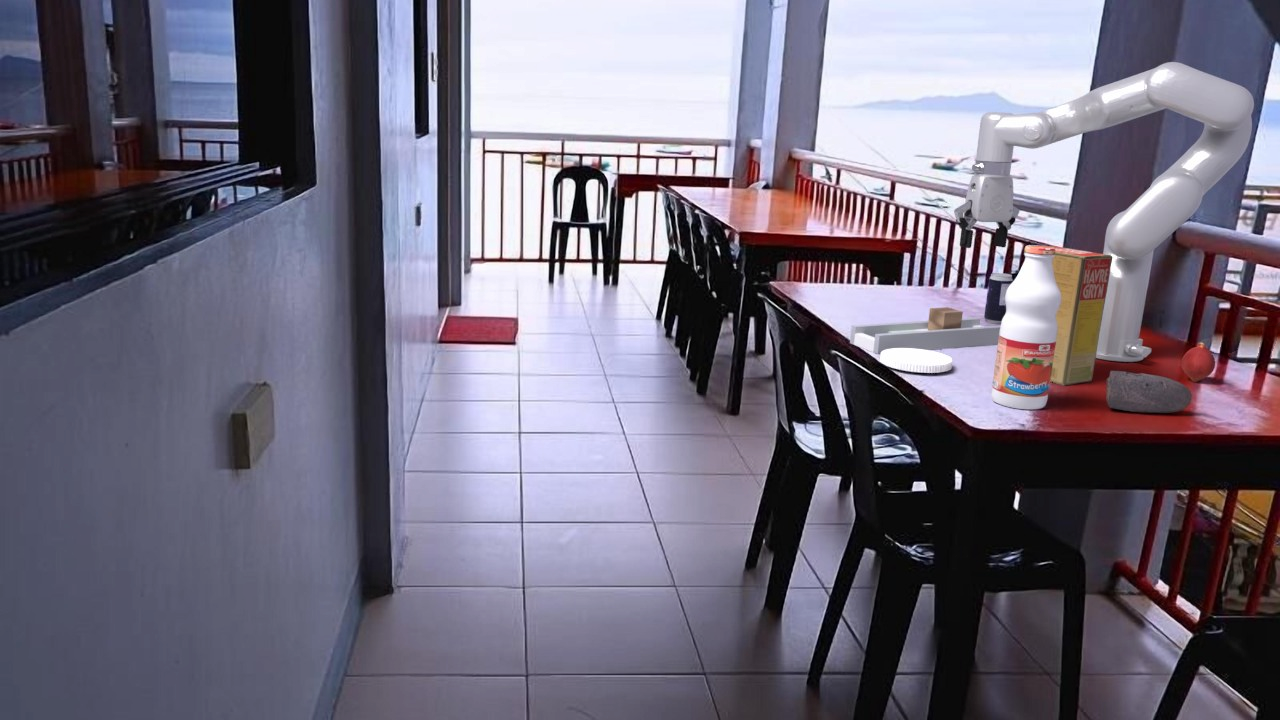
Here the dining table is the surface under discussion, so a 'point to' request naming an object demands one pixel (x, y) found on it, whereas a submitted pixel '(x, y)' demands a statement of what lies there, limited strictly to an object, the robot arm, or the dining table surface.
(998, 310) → the beverage can
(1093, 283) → the food packaging
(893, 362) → the plastic lid
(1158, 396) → the perforated stone tool
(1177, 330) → the dining table surface
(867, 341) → the trap track
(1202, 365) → the onion
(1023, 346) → the fruit juice
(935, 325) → the walnut block
